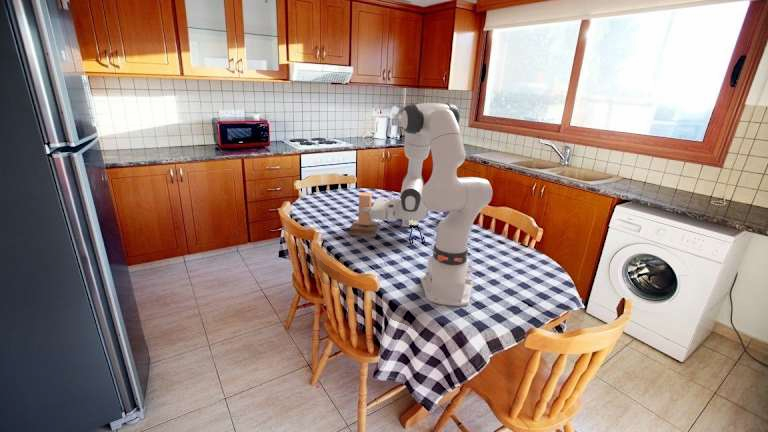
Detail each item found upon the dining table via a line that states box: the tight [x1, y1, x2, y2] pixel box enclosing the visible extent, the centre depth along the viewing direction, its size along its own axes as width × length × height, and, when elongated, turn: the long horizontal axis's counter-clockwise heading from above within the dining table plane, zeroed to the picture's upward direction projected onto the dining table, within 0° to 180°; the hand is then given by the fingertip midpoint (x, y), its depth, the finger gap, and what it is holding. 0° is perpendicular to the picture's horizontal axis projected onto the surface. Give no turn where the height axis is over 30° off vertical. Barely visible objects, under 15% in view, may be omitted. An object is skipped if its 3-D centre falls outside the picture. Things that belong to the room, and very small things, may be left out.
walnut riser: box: [348, 219, 380, 238], centre depth 179 cm, size 12×12×3 cm
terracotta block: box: [358, 192, 373, 225], centre depth 176 cm, size 5×5×14 cm
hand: (363, 206), depth 176 cm, fingers closed on terracotta block, 5 cm apart
